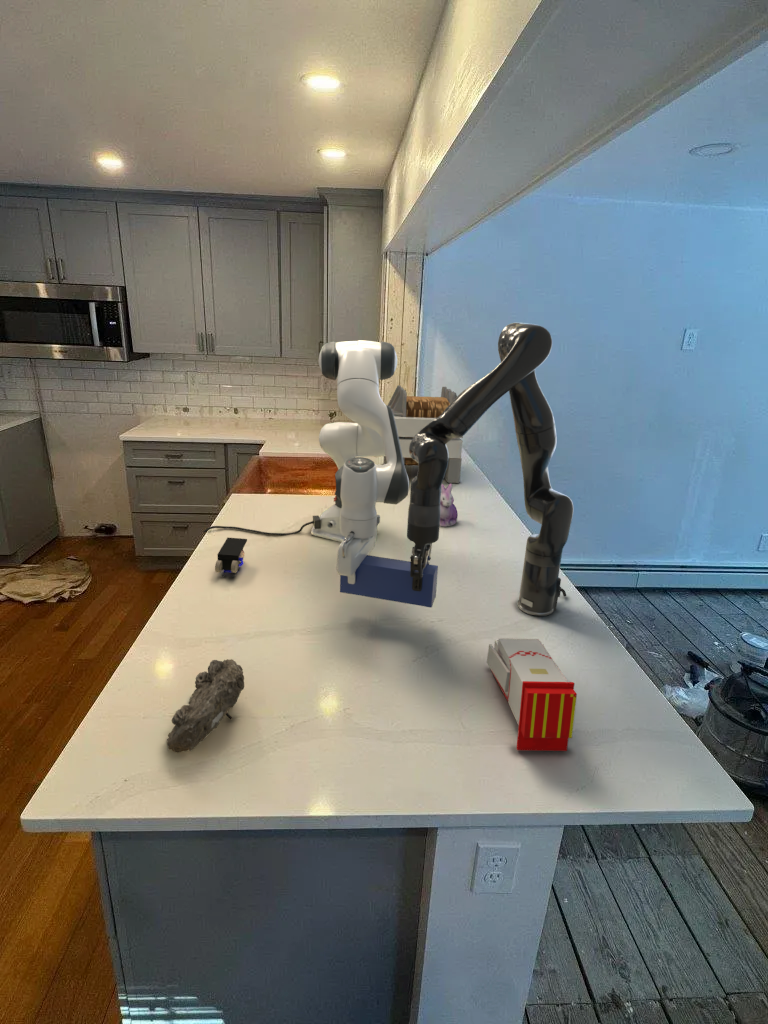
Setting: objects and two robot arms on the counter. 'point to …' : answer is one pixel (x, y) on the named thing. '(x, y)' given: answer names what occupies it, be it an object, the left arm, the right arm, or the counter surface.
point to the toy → (534, 693)
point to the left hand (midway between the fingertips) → (356, 576)
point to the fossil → (206, 705)
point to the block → (391, 581)
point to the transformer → (416, 416)
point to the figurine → (447, 507)
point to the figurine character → (230, 556)
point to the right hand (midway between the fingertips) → (419, 584)
